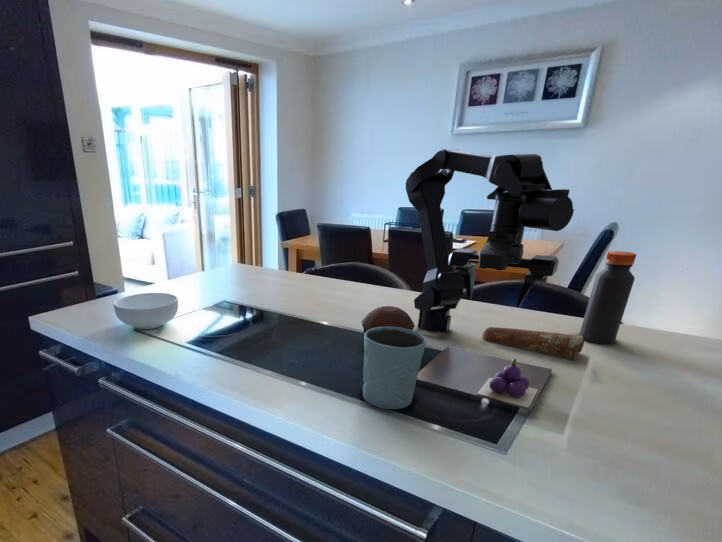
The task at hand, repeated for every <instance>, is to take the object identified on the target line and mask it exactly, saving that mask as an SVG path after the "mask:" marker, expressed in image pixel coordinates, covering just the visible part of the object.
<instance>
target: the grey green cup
mask: <svg viewBox="0 0 722 542" xmlns="http://www.w3.org/2000/svg"><path fill="white" fill-rule="evenodd" d="M363 339H364V340H363V354H364V356H363V369H362V370H363V374H362V375H363V378H362V379H363V385H362V396H363V399H364V400H365V402H367V404H369V405H371V406H374V407H376V408H379V409H384V410H401V409H405V408H407V407H409V406H410V405H411V403H412V401H413V398H414V393H415V389H416V384H417V381H418V380H417V375H418V372H420V368H421V363H422V362H423V361H422V357H423V356H424V352H425V349H426V345H427V338H426V336H424V335H423V334H422V333H420V332H418V331H415V330H414V329H413V330H409V329H405V328H400V327H376V328H372V329H369V330H367V331H366V332H365V334H364V333H363Z"/></svg>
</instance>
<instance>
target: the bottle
mask: <svg viewBox="0 0 722 542" xmlns="http://www.w3.org/2000/svg"><path fill="white" fill-rule="evenodd" d="M636 258H637V254H636V252H630V251H621V250H612V251H607V254H606V258H605V262H604V265H605V267H604V269H602V270H601V271H598V273H596V274H595V276H594V277H595V278H594V280H593V285H592V289H591V292H590V296H589V298H588V303H587V306H586V309H585V313H584V317H583V320H582V324H581V328H580V331H579V336H583V337H584V341H586V342H589V343H595V344H602V345H603V344H604V345H609V344H612V343H614V342H615V341H616V339H617V336H618V333H619V330H620V326H621V323H622V321H623V317H624V314H625V311H626V307H627V304H628V301H629V298H630V295H631V292H632V289H633V285H634V282H635V276H634V274H633V273H632V272H631V268H632V267H633V266H634V264H635V261H636Z"/></svg>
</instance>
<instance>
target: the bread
mask: <svg viewBox="0 0 722 542" xmlns="http://www.w3.org/2000/svg"><path fill="white" fill-rule="evenodd" d="M482 339H483V340H484V341H487V342H492V343H496V344H501V345H505V346H509V347H514V348H519V349H523V350H528V351H531V352H537V353H540V354H541V353H542V354H546V355H550V356H555V357H558V358H562V359H567V360H573V361H576V360H577V358H578V354H579V353H581V352H582V350H583V347H584V346H585V345H584V344H585V340H584V337H583V336H580V335H576V334H570V333H569V334H567V333H559V332H550V331H541V330H533V329H532V330H531V329H520V328H510V327H497V326H488V327H487V328H485V330H484V331H483V333H482Z"/></svg>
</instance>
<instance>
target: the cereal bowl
mask: <svg viewBox="0 0 722 542" xmlns="http://www.w3.org/2000/svg"><path fill="white" fill-rule="evenodd" d="M113 309H114V313H115V316H116V317H117V319H118V320H119V321H120V322H121V323H123V324H124V325H127V326H131V327H133V328H135V329H137V330H153V329H158V328H160V327H162V326H163V325H164V324H166V323H168V322H170V321H172V320H173V318H175V316H176V315H177V313H178V310H179V299H178V297H177V295H175V294H172V293H165V292H145V293H137V294H131V295H127V296H123V297H120V298H118V299H116V300H115V301H114V302H113Z"/></svg>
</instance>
